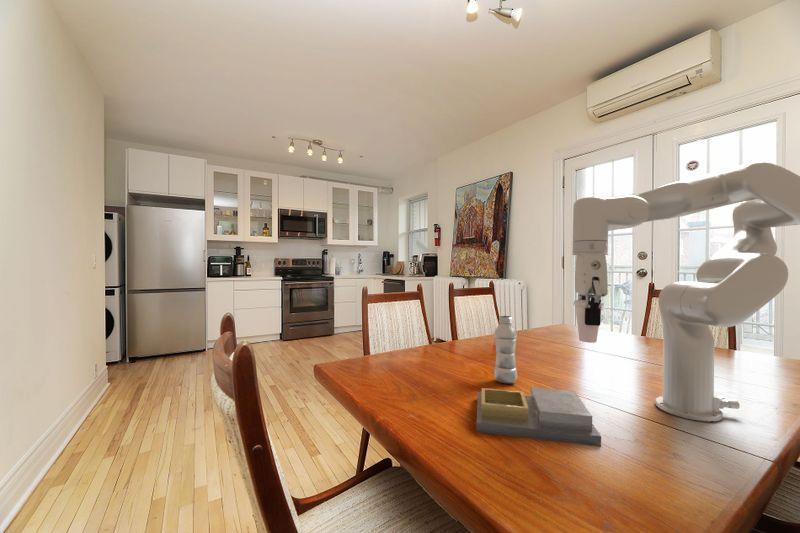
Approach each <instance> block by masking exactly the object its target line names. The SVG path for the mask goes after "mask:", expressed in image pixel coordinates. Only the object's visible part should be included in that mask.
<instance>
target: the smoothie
mask: <svg viewBox="0 0 800 533" xmlns="http://www.w3.org/2000/svg"><path fill="white" fill-rule="evenodd" d="M588 291H589V290H588ZM589 295H590V294H589ZM590 301H591V300H590ZM573 305H574V306H575V314H576V315H575V316H576V324H577V325H576V326H577V332H578V341H579V342H583V343H589V344H591V343H592V344H594V343H597V340H598V333H599V327H600V326H593V325H586V324H585V308H587V305H586V300H578V299H577V300H576V299H575V300H573ZM603 307H604V302H603V301H601V312H602V310H603Z"/></svg>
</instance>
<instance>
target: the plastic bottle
mask: <svg viewBox="0 0 800 533" xmlns="http://www.w3.org/2000/svg"><path fill="white" fill-rule="evenodd" d="M498 323H499V324H498V326H497V327H496V328H495V330H494V332H493V336H494V343H495V351H496V352H495V353H496V356H495V366H494V373H493V374H494V379H495V380H496V381H497V382H499V383H502V384H513V383H516V381H517V379H518V370H517V365H516V363H517V362H516V345H517V336H518V334H517V331H516V329H515V328H514V327H513V325H512V324H513V316H510V315H500V316H499V317H498Z"/></svg>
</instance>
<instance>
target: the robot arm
mask: <svg viewBox="0 0 800 533" xmlns="http://www.w3.org/2000/svg"><path fill="white" fill-rule="evenodd" d="M733 204H736V205H735V207H734V208H733V211H732V222H733V229H734V230H733V237H732V238H731V239H730V240H729V241H728V242H727V243H726V244H725V245H724V246H723V247H721V248H720V249H719V250H718V251H716V252H715V253H713V255H711V256H710V257H709V258H707V259H706V260H705V261H704V262H703V263H702V264H701V265H700V266H699V267H698V269H697V270H696V275H695V276H696V281H688V280H687V281H686V280H685V281H675V282H671V283H669V284H666V285H665V286H664V287H663V288H662V289H661V290H660V293H659V295H658V300H657V301H658V308H659V313H660V316H661V321H662V322H661V323H662V337H663V338H662V343H663V344H662V395H659V396H658V397H655V399H654V402H655V403H654V404H655V406H657V407H658V409H660V410H662V411H664V412H666V413H668V414H671V415H673V416H677V417H680V418H683V419H687V420H692V421H698V422H709V423H710V422H711V421H713V422H719V421H721V420H723V418H724V414H723V411H722V410H723V409H724V408H728V409H735V410H738V409H740V406H741V405H740V402H739V401H738V400H736V399H725V397H724V396H718V395H716V394H715V339H714V335H713V333H712V329H711V327H710V326H713V327H718V328H732V327H735V326H738V325H740V324H742V323H744V322H745V321H747V320H748V319H749V318H751V317H752V316H753V315H754V314H755V313H757V312H758V311H760V310H761V309H762V308H764V307H765V305H767V304H768V303H769V302H771V301H772V300H773V299H775V298H776V297H777V296H778V295H779V294H780V293H781V292H782V291H783V290H784V288H785V287H786V285H787V282H788V280H789V269H788V267H787V264H786V262H785V261H784V260H782V259H781V258H780V257H778V256H777V255H776V254H777V251H778V246H777V245H778V244H777V243H776V241H775V238H774V235H773V232H772V228H777V227H789V226H797V225H800V175H798V174H796V173H794V172H793V171H791V170H789V169H787V168H784V167H783V166H781V165H778V164H775V163H772V162H769V161H763V160H762V161H761V160H757V161H752V162H747V163H745V164H741V165H738V166H737V165H736V166H734V167H730V168H726V169H723V170H719V171H715V172H712V173H707V174H704V175H699V176H695V177H691V178H687V179H684V180H683V179H682V180H679V181H675V182H674V181H673V182H672V183H668V184H665V185H662V186H659V187H656V188H654V189H650V190H647V191H644V192H641V193H638V194H634V195H623V196H617V197H615V196H614V197H601V196H590V197H582V198H579V199H577V200H576V201H575V202H574V203H573V207H572V210H573V211H572V219H573V220H572V252H571V253H572V256H576V258H575V259H576V260H575V268H574V269H575V270H574V271H575V272H574V290H575V291H574V292H575V293H577V300H586V305H587V308H585V324H586V325H593V326H599V327H600V326H601V317H602V316H601V315H602V311H601V302H602V297H607V296H608V293H609V288H608V287H609V286H608V282H609V281H608V265H607V264H608V263H607V256H608V254H609V253H608V252H609V250H608V249H609V247H608V246H609V232H611V231H617V230H623V229H625V230H626V229H631V228H635V227H637V226H640V225H642V224H644V223H648V222H649V223H650V222H655V221H663V220H671V219H675V218H680V217H685V216H689V215H692V214H693V215H694V214H697V213H700V212H704V211H710V210H713V209H717V208H721V207H726V206H729V205H733ZM588 290H589V291H588ZM589 294H590V295H589ZM590 300H591V301H590ZM711 423H712V422H711Z"/></svg>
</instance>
